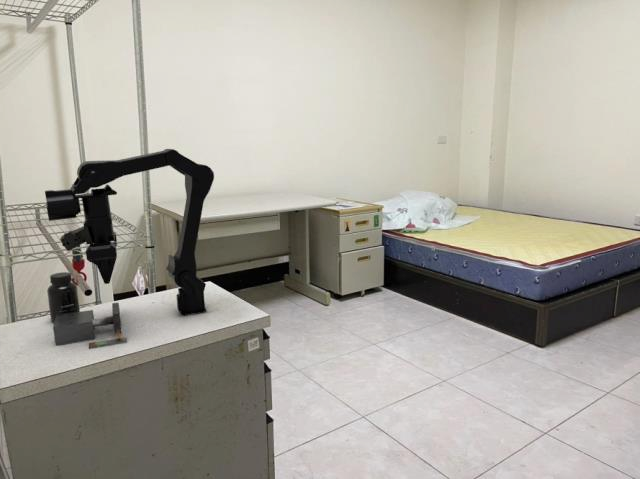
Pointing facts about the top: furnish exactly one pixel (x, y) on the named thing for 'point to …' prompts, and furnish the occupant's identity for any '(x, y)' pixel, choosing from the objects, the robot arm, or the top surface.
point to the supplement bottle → (62, 295)
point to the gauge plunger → (111, 320)
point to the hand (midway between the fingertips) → (107, 278)
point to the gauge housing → (79, 330)
